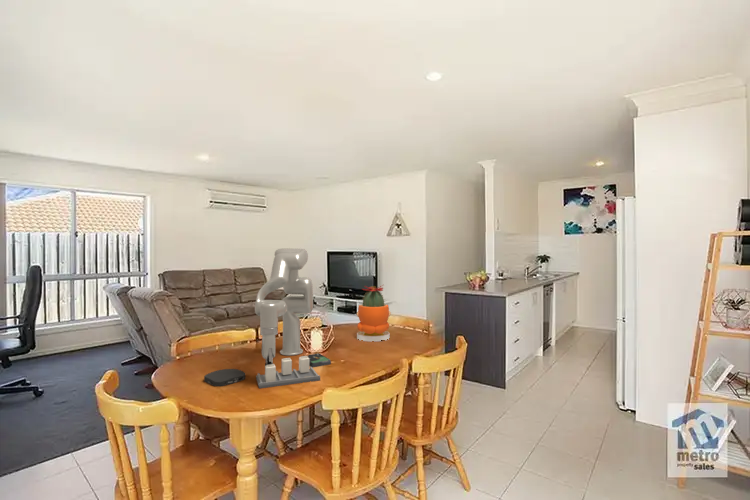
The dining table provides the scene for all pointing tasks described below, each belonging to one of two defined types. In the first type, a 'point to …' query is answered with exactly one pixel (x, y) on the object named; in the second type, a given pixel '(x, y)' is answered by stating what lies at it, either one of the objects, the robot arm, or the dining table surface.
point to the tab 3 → (303, 364)
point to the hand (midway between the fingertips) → (269, 372)
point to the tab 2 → (286, 366)
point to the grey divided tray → (288, 378)
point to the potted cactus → (373, 316)
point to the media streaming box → (224, 377)
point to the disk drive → (318, 360)
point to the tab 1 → (270, 373)
